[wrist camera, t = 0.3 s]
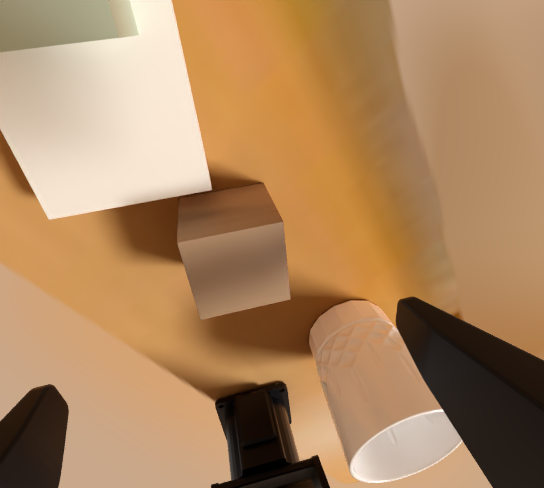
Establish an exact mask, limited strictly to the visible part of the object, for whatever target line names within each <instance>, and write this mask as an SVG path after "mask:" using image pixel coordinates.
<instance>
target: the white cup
mask: <svg viewBox="0 0 544 488" xmlns="http://www.w3.org/2000/svg"><path fill="white" fill-rule="evenodd" d="M309 345H310V348H311V351H312V354H313V357H314V360H315V362H316V365H317V370H318V375H319V379H320V382H321V385H322V387H323V390H324V394H325V398H326V402H327V405H328V408H329V411H330V414H331V417H332V420H333V423H334V425H335V428H336V431H337V434H338V437H339V440H340V444H341V447H342V450H343V453H344V456H345V459H346V462H347V465H348V468H349V471H350V473H351V475H352V476H353V477H354V478H355V479H357V480H359V481H362V482H367V483H368V482H369V483H381V482H388V481H393V480H397V479H401V478H404V477H407V476H410V475H413V474H415V473H418V472H420V471H422V470H424V469H426V468H428V467H430V466H432V465H434V464H435V463H437V462H439V461H440V460H442V459H443V458H445V457H446V456H448V455H449V454H450V453H451V452H453V451H454V450H455V449H456V448H457V447H458V446H459V445H460V444H461V443H462V441H463V440H462V439H461V437H460V436H459V434H458V433H457V431H456V430H455V428H454V427H453V425H452V423H451V422H450V420H449V419H448V417H447V416H446V414H445V413H444V411H443V410H442V408H441V406H440V405H439V403H438V402H437V400H436V399H435V397H434V396H433V394H432V393H431V391H430V389H429V388H428V386H427V385H426V383H425V381H424V380H423V378H422V376H421V374H420V372H419V371H418V369H417V367H416V365H415V363H414V361H413V359H412V357H411V355H410V353H409V351H408V349H407V347H406V345H405V343H404V341H403V339H402V337H401V335H400V333H399V331H398V330H397V329H396V328H395V327H394V325H393V324H392V323H391V321H390V320H389V319H388V317H387V316H386V315H385V313H384V312H383V311H382V310H381V308H380V307H378V306H376V305H375V304H373V303H371V302H369V301H360V300H351V301H347V302H344V303H341V304H339V305H336V306H333V307H332V308H330V309H329V310H328V311H326V312H325V313H324V314H322V315H321V316H320V317H318V319H317V320H316V322H315V324H314V325H313V327H312V328H311V330H310V338H309Z"/></svg>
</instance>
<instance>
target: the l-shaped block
mask: <svg viewBox="0 0 544 488" xmlns="http://www.w3.org/2000/svg"><path fill="white" fill-rule="evenodd" d="M0 130H1V132H2V133H3V135H4V137H5V139H6V141H7V143H8V145H9V146H10V148H11V150H12V152H13V154H14V156H15V158H16V159H17V161H18V163H19V165H20V167H21V169H22V171H23V172H24V174H25V176H26V178H27V180H28V182H29V184H30V185H31V187H32V189H33V191H34V193H35V195H36V197H37V198H38V200H39V202H40V204H41V206H42V208H43V210H44V211H45V213H46V215H47V217H48V219H49V220H50V219H56V218H61V217H67V216H72V215H78V214H83V213H88V212H94V211H99V210H105V209H110V208H116V207H121V206H127V205H132V204H138V203H143V202H149V201H154V200H160V199H165V198H171V197H176V196H182V195H187V194H193V193H198V192H204V191H209V190H212V187H211V181H210V175H209V170H208V166H207V161H206V156H205V152H204V147H203V143H202V138H201V133H200V129H199V124H198V119H197V115H196V110H195V106H194V101H193V96H192V92H191V87H190V82H189V78H188V73H187V69H186V64H185V59H184V55H183V50H182V46H181V41H180V36H179V32H178V27H177V22H176V18H175V13H174V9H173V4H172V0H0Z"/></svg>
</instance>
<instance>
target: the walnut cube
mask: <svg viewBox="0 0 544 488" xmlns="http://www.w3.org/2000/svg"><path fill="white" fill-rule="evenodd" d="M177 244H178V248H179V251H180V254H181V257H182V261H183V264H184V267H185V270H186V273H187V277H188V280H189V283H190V286H191V290H192V293H193V296H194V299H195V303H196V306H197V309H198V312H199V315H200V319H201V320H203V319H207V318H211V317H216V316H220V315H224V314H229V313H233V312H238V311H242V310H246V309H251V308H255V307H259V306H264V305H268V304H273V303H277V302H281V301H286V300H290V299H291V298H290V288H289V277H288V267H287V256H286V246H285V235H284V225H283V220H282V218H281V216H280V214H279V212H278V210H277V209H276V207H275V205H274V203H273V201H272V199H271V197H270V195H269V193H268V191H267V189H266V187H265V185H264V183H259V184H253V185H248V186H242V187H237V188H232V189H226V190H221V191H215V192H210V193H204V194H199V195H193V196H188V197H182V198H179V203H178V230H177Z"/></svg>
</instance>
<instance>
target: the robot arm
mask: <svg viewBox="0 0 544 488" xmlns="http://www.w3.org/2000/svg"><path fill="white" fill-rule="evenodd" d="M396 326H397V329H398V331H399V333H400V335H401V337H402V339H403V341H404V343H405V345H406V347H407V349H408V351H409V353H410V355H411V357H412V359H413V361H414V363H415V365H416V367H417V369H418V371H419V372H420V374H421V376H422V378H423V380H424V381H425V383H426V385H427V386H428V388H429V389H430V391H431V393H432V394H433V396H434V397H435V399H436V400H437V402H438V403H439V405H440V406H441V408H442V410H443V411H444V413H445V414H446V416H447V417H448V419H449V420H450V422H451V423H452V425H453V427H454V428H455V430H456V431H457V433H458V434H459V436H460V437H461V439H462V440H463V442H464V444H465V445H466V447H467V448H468V450H469V451H470V453H471V454H472V456H473V457H474V459H475V461H476V462H477V464H478V465H479V467H480V468H481V470H482V471H483V473H484V475H485V476H486V478H487V479H488V481H489V482H490V484H491V485H492V487H493V488H544V360H542V359H540V358H538V357H536V356H534V355H532V354H530V353H528V352H525V351H524V350H522V349H519V348H517V347H515V346H513V345H511V344H509V343H507V342H505V341H503V340H501V339H499V338H497V337H495V336H493V335H491V334H489V333H487V332H485V331H483V330H481V329H479V328H477V327H475V326H473V325H471V324H469V323H467V322H465V321H463V320H461V319H459V318H457V317H455V316H453V315H451V314H449V313H447V312H445V311H443V310H441V309H438V308H436V307H434V306H432V305H430V304H428V303H426V302H424V301H422V300H420V299H418V298H416V297H408V298H404V299H400V300H399V301H398V305H397V314H396ZM215 406H216V410H217V413H218V416H219V419H220V422H221V425H222V428H223V431H224V434H225V436H226V439H227V443H228V452H229V462H230V472H231V481H228V482H224V483H221V484H218V483H216V484H212V485H211V488H330V486H329V484H328V481H327V479H326V476H325V473H324V470H323V468H322V465H321V462H320V460H319V457H318V455H316V456H312V457H311V458H310V459H306V460H303V461H299V457H298V453H297V449H296V446H295V442H294V438H293V434H292V431H291V427H290V424H291V415H290V407H289V399H288V391H287V387H286V384H284V383H280V384H276V385H272V386H268V387H264V388H261V389H257V390H253V391H249V392H245V393H241V394H238V395H234V396H230V397H226V398H222V399H219V400H217V401H216V402H215ZM68 411H69V410H68V405H67V403H66V401H65V400H64V399H63V397H62V396H61V394H60V393H59V392H58V390H57V389H56V388H55V386H53V385H51V384H48V385H44V386H40V387H36V388H33V389H32V390H30V391H29V392H28V393H27V394H26V395H25V396H24V397H23V398H22V399H21V400H20V401H19V402H18V404H17V405H16V406H15V407H14V408H13V409H12V410H11V411H10V412H9V413H8V414H7V415H6V416H5V417H4V418H3V419H2V420H1V421H0V488H58V486H59V481H60V476H61V469H62V461H63V454H64V446H65V438H66V429H67V422H68V413H69V412H68Z"/></svg>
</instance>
